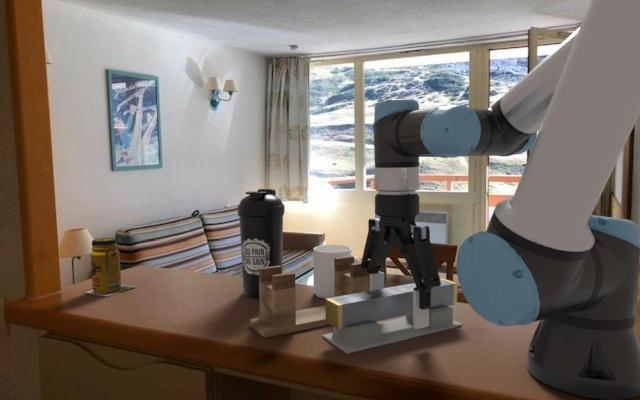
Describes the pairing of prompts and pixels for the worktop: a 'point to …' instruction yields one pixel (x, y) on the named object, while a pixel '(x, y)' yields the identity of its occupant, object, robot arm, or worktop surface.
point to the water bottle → (260, 236)
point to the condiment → (106, 268)
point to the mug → (327, 268)
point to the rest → (389, 331)
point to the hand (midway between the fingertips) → (397, 317)
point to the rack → (281, 298)
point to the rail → (383, 304)
